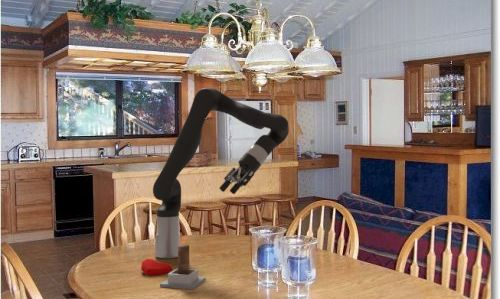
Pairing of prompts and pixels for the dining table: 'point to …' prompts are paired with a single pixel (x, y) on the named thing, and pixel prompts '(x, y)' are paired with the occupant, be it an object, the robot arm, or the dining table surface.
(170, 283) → the gray flanged square socket
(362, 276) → the dining table surface
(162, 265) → the heart
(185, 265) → the dark brown block
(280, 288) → the dining table surface
